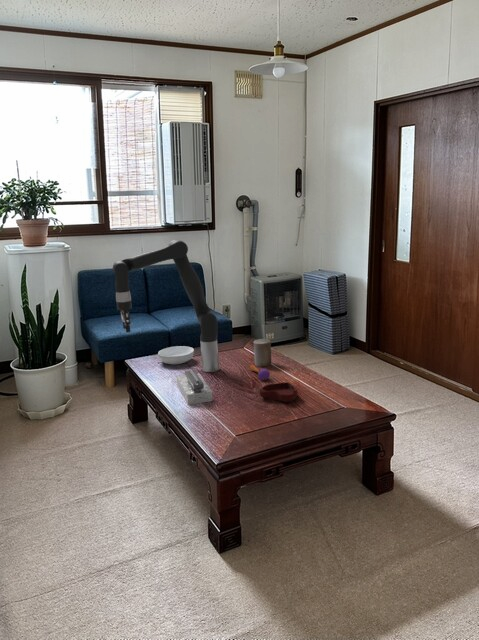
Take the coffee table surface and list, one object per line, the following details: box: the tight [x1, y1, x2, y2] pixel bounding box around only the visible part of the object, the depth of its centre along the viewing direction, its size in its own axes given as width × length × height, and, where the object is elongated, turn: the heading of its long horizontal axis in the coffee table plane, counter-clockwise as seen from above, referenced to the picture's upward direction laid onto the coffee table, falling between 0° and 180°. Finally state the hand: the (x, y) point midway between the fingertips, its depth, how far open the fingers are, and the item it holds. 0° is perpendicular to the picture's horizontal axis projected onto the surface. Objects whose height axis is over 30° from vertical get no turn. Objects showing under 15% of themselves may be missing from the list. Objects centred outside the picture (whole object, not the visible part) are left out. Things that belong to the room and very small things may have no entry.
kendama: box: [249, 364, 270, 381], centre depth 298 cm, size 6×6×20 cm
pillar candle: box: [253, 338, 273, 368], centre depth 315 cm, size 10×10×15 cm
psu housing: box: [176, 372, 214, 406], centre depth 277 cm, size 12×28×7 cm, turn 17°
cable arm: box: [184, 368, 204, 389], centre depth 273 cm, size 5×22×3 cm, turn 17°
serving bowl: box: [157, 345, 195, 365], centre depth 327 cm, size 21×21×7 cm
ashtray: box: [259, 381, 298, 404], centre depth 267 cm, size 18×16×5 cm
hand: (126, 330), depth 291 cm, fingers open, 8 cm apart
